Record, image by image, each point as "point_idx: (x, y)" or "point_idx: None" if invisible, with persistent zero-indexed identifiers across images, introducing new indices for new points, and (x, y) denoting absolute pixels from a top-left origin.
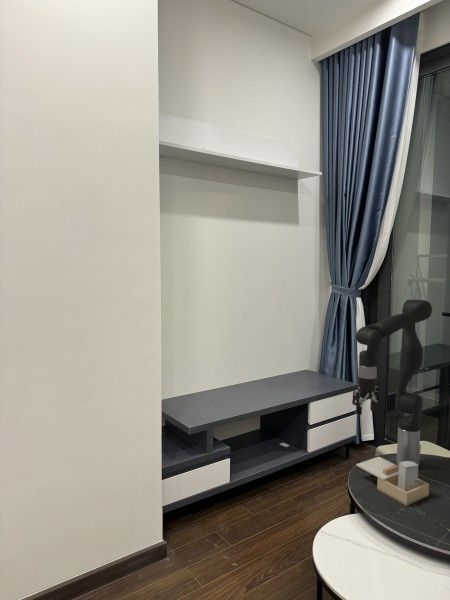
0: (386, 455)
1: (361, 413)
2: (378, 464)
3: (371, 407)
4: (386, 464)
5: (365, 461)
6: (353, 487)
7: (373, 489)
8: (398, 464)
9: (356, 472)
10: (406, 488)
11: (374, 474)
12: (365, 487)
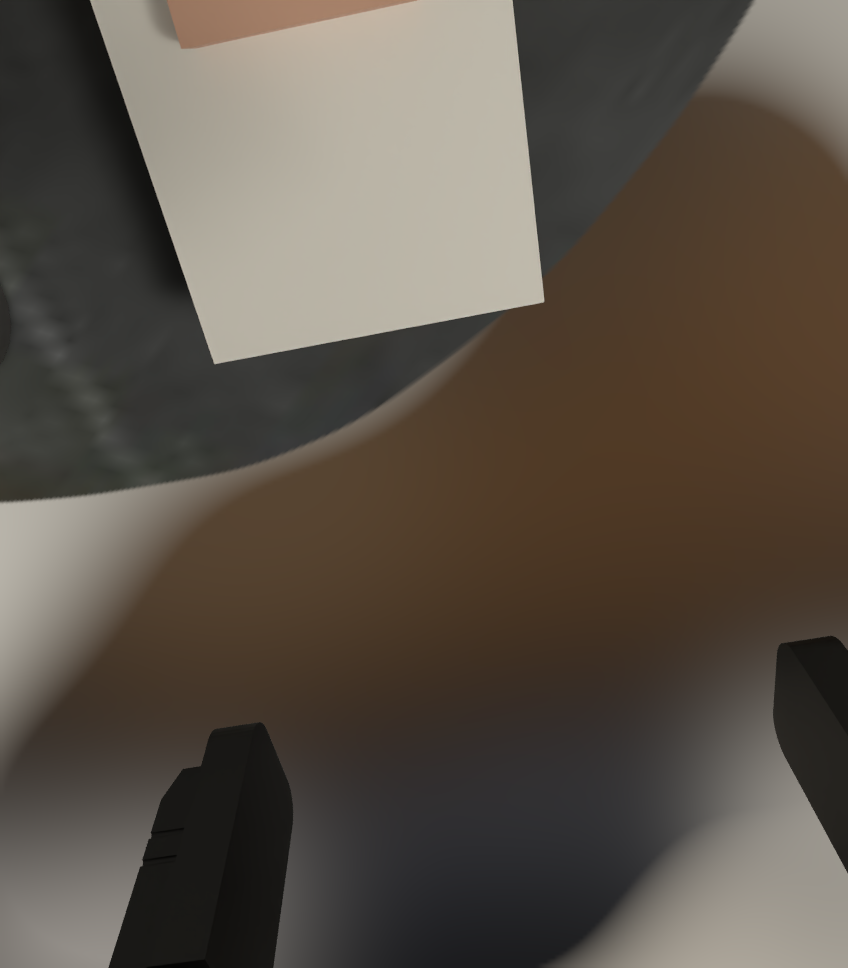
0: (27, 492)
1: (810, 666)
2: (325, 218)
3: (275, 860)
4: (238, 185)
5: (417, 320)
6: (669, 119)
7: (522, 11)
8: (7, 318)
9: (461, 337)
10: None
11: (514, 37)
12: (567, 76)
